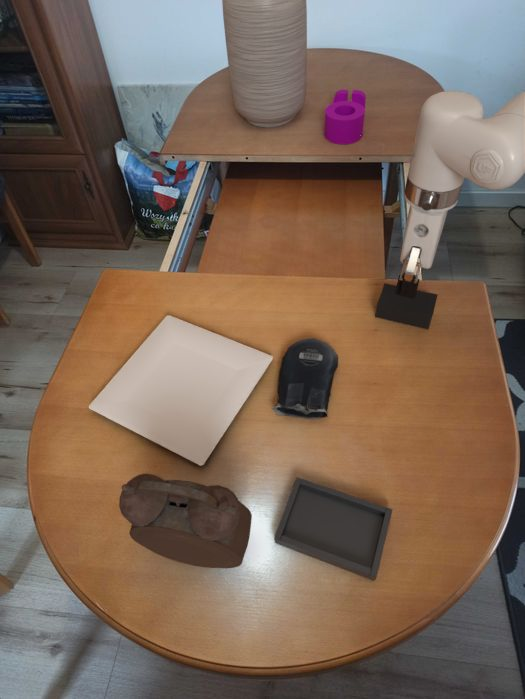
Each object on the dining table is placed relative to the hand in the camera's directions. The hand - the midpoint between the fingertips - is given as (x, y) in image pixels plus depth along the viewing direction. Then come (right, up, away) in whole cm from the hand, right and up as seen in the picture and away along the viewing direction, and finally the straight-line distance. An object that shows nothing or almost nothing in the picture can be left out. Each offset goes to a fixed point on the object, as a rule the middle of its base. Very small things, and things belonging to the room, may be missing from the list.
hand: (410, 275), depth 83 cm
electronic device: (-17, -18, -1) cm, 25 cm away
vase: (-23, +53, +55) cm, 80 cm away
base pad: (-15, -37, -16) cm, 43 cm away
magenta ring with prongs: (-3, +46, +48) cm, 67 cm away
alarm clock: (-33, -39, -16) cm, 54 cm away
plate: (-38, -19, 0) cm, 43 cm away
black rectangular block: (+1, -6, +7) cm, 9 cm away
